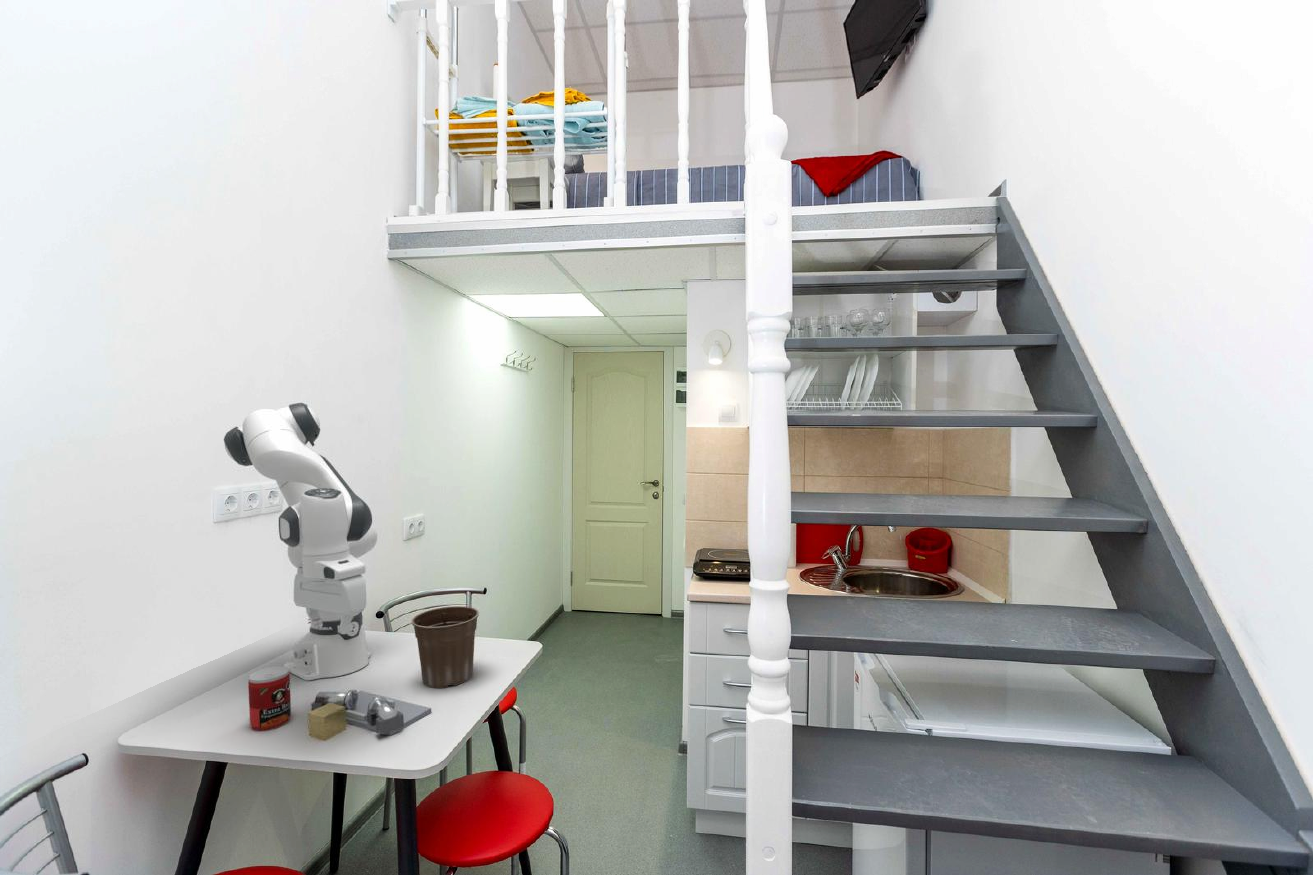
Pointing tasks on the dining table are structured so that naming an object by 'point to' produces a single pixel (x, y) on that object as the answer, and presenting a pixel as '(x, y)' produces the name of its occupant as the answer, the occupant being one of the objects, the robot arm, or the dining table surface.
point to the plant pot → (446, 644)
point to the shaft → (336, 699)
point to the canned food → (269, 698)
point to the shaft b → (383, 715)
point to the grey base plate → (408, 710)
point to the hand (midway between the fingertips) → (330, 630)
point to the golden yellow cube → (327, 721)
